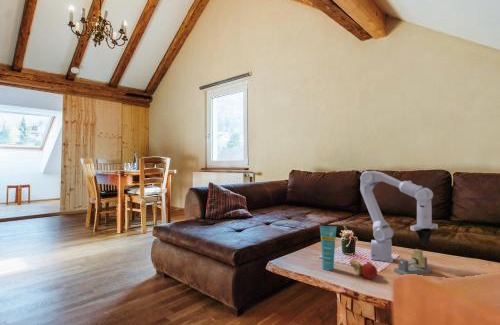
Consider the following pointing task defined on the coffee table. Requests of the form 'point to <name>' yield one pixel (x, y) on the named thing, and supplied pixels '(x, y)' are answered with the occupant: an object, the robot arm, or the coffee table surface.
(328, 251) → the tube
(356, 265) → the kendama
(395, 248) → the coffee table surface
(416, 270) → the pipe rig
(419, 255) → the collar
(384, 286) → the coffee table surface
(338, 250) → the coffee table surface
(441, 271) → the coffee table surface
